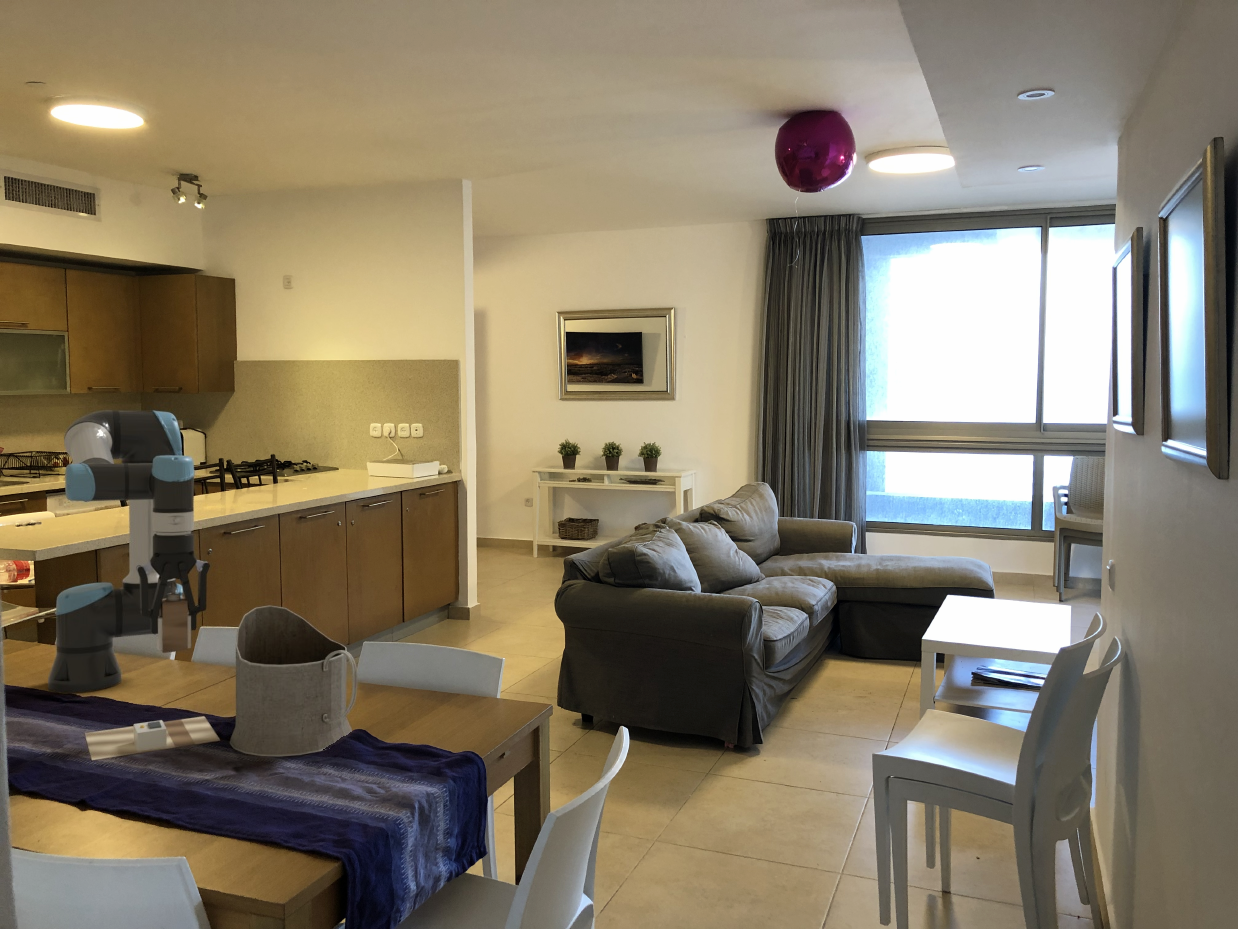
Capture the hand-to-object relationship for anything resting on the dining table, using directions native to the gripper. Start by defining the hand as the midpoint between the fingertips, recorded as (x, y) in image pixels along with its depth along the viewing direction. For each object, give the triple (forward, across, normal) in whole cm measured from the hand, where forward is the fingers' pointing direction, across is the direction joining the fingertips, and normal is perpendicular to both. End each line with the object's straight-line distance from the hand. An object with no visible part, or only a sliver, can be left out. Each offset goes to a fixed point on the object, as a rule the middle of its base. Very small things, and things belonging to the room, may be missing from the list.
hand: (173, 647), depth 194 cm
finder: (+16, -5, -8) cm, 19 cm away
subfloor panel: (+17, -4, -4) cm, 18 cm away
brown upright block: (0, 0, 0) cm, 0 cm away
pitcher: (+18, +22, -17) cm, 33 cm away
